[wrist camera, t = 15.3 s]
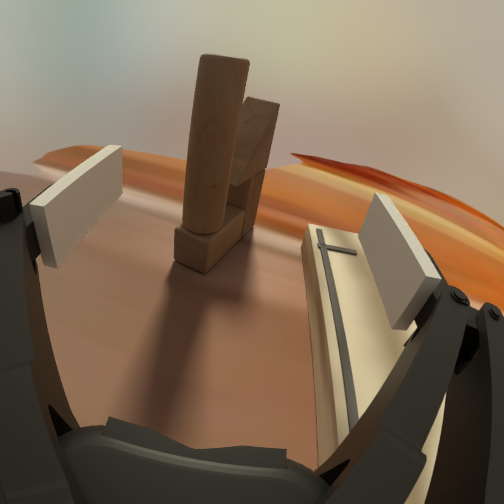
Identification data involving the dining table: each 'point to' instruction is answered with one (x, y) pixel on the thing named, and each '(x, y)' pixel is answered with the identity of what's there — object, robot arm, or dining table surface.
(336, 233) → the maple board
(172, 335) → the dining table surface
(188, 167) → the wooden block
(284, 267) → the dining table surface
